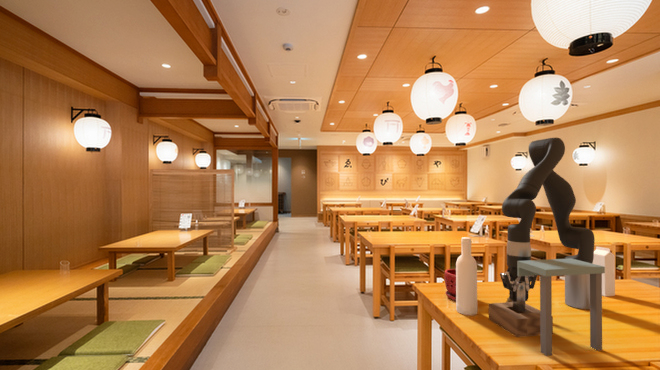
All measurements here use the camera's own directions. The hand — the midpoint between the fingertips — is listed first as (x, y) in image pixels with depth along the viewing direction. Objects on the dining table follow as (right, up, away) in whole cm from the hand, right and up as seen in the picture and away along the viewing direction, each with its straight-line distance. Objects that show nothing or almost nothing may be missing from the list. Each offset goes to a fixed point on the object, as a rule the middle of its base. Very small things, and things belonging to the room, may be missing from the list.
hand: (518, 300), depth 111 cm
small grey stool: (+5, -9, -13) cm, 17 cm away
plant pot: (-9, -10, +28) cm, 31 cm away
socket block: (0, -9, 0) cm, 9 cm away
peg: (0, -3, 0) cm, 3 cm away
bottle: (-13, -10, +13) cm, 21 cm away
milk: (+61, -10, +33) cm, 70 cm away
